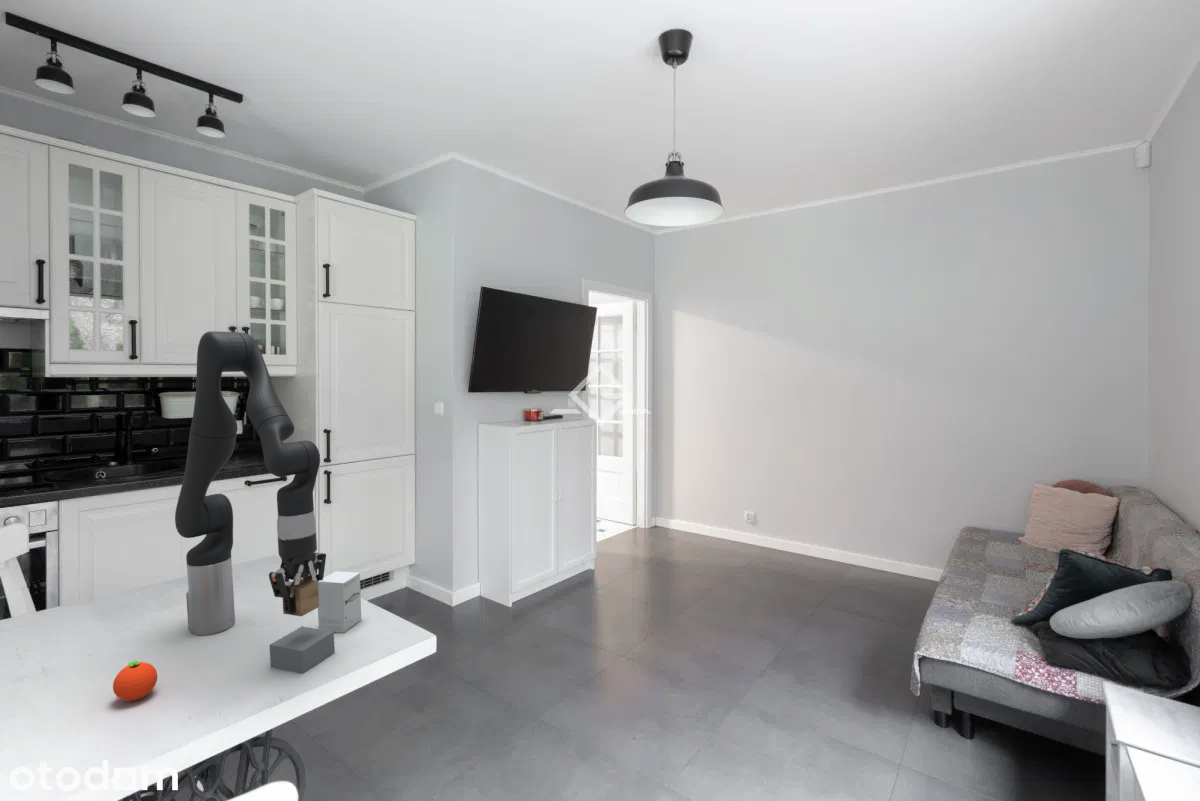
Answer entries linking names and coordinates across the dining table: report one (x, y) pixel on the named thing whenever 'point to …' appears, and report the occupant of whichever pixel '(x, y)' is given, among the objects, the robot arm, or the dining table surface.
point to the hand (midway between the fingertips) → (301, 607)
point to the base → (302, 649)
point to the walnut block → (305, 597)
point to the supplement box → (339, 601)
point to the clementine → (135, 681)
